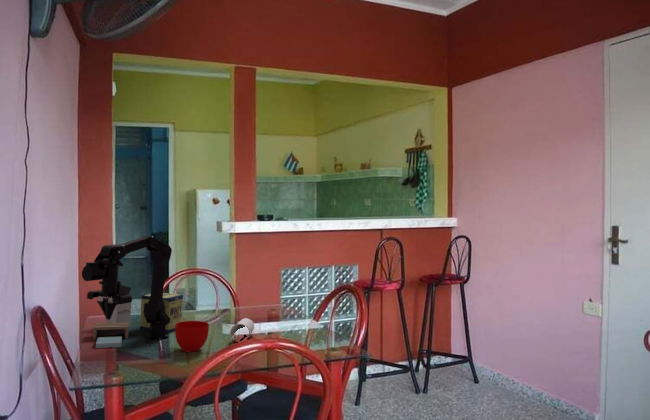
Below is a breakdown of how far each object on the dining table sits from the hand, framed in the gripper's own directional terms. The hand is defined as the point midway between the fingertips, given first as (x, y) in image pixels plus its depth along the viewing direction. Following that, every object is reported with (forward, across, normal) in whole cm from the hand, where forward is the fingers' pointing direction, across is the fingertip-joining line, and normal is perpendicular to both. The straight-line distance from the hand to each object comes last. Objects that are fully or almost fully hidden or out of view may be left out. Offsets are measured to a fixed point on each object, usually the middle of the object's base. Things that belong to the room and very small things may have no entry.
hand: (108, 319), depth 198 cm
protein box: (+12, +11, -37) cm, 41 cm away
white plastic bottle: (+12, -28, -47) cm, 56 cm away
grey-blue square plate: (+12, +7, -7) cm, 16 cm away
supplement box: (+12, +28, -28) cm, 42 cm away
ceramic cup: (+12, -22, -20) cm, 32 cm away
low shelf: (+12, +16, -15) cm, 25 cm away
